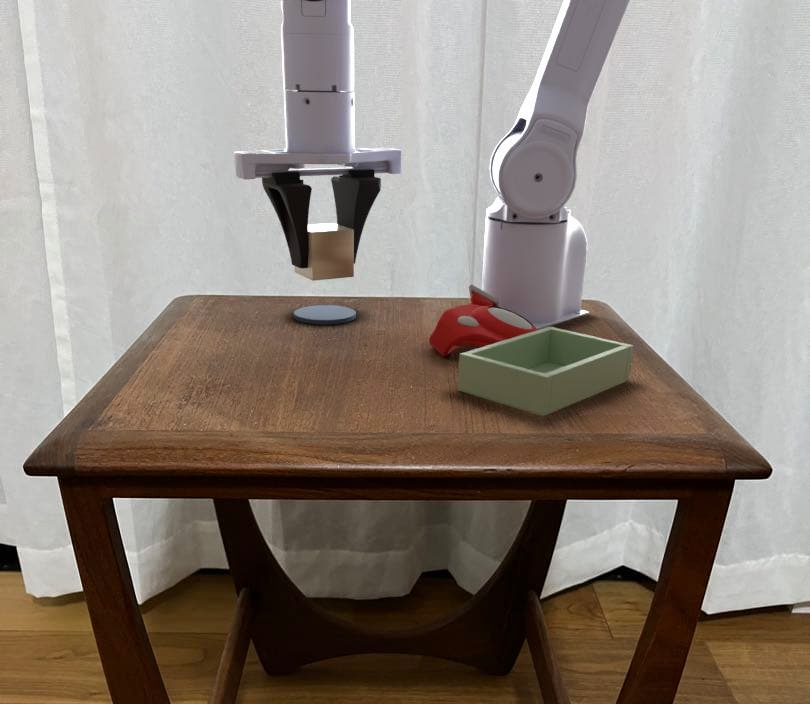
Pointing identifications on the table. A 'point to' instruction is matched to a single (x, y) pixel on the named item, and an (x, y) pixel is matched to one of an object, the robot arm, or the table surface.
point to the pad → (324, 314)
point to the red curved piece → (477, 324)
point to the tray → (544, 369)
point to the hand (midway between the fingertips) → (323, 264)
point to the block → (329, 252)
